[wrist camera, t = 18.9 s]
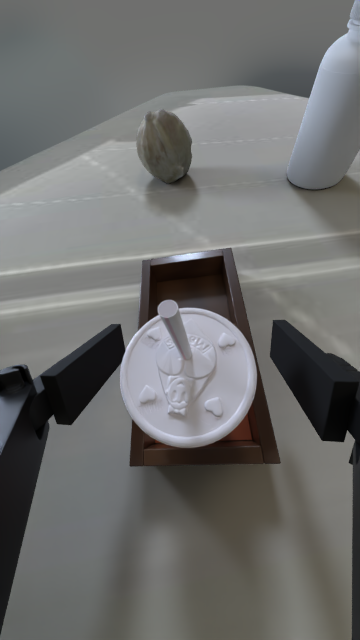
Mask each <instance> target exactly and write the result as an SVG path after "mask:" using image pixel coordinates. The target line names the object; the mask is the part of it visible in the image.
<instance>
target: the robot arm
mask: <svg viewBox="0 0 360 640" xmlns="http://www.w3.org/2000/svg"><path fill="white" fill-rule="evenodd" d="M124 354H125V346H124V341H123V335H122V330H121V324H111V325H110V326H108V327H107V328H105V329H104V330H103V331H101V332H100V333H98V334H97V335H96V336H94V337H93V338H91V339H90V340H89V341H87V342H86V343H85V344H83V345H82V346H80V347H79V348H78V349H76V350H75V351H73V352H72V353H71V354H69V355H68V356H66V357H65V358H63V359H62V360H60V361H59V362H57V363H56V364H55V365H53V366H52V367H51V368H49V369H48V370H46V371H45V372H43V373H42V374H41V375H39V376H38V377H36V378H35V379H34V380H32V377H31V375H30V372H29V369H28V367H27V366H26V365H15V366H11V367H7V368H5V369H2V370H0V634H1V630H2V626H3V622H4V617H5V613H6V609H7V605H8V601H9V596H10V592H11V588H12V584H13V579H14V575H15V571H16V567H17V563H18V558H19V554H20V550H21V546H22V542H23V537H24V533H25V529H26V525H27V521H28V516H29V512H30V508H31V504H32V499H33V495H34V491H35V487H36V483H37V478H38V474H39V470H40V466H41V462H42V457H43V453H44V449H45V445H46V441H47V436H48V432H49V423H48V420H49V418H50V417H51V416H52V415H53V414H54V417H55V420H56V423H57V424H62V425H72V423H73V422H74V421H75V420H76V418H77V417H78V416H79V415H80V413H81V412H82V411H83V410H84V408H85V407H86V406H87V405H88V403H89V402H90V401H91V400H92V398H93V397H94V396H95V395H96V393H97V392H98V391H99V390H100V388H101V387H102V386H103V385H104V383H105V382H106V381H107V380H108V379H109V377H110V376H111V375H112V374H113V372H114V371H115V370H116V369H117V367H118V366H119V365H120V364H121V362H122V360H123V357H124ZM270 357H271V359H272V360H273V362H274V364H275V365H276V367H277V369H278V370H279V372H280V373H281V375H282V377H283V378H284V380H285V381H286V383H287V385H288V386H289V388H290V390H291V391H292V393H293V394H294V396H295V398H296V399H297V401H298V402H299V404H300V406H301V407H302V409H303V411H304V412H305V414H306V415H307V417H308V419H309V420H310V422H311V424H312V425H313V427H314V428H315V430H316V432H317V433H318V435H319V436H320V438H321V440H322V441H335V442H344V440H345V436H346V432H347V430H348V431H349V433H350V434H351V435H352V436H353V438H354V439H355V442H354V446H353V450H352V453H351V457H350V460H349V463H350V464H352V465H353V536H352V640H360V372H359V371H357V369H355V368H354V367H353V366H351V365H350V364H349V363H347V362H346V361H345V360H344V359H342V358H340V357H338V356H336V355H333V354H331V353H324V352H323V351H322V350H321V349H320V348H318V347H317V346H316V345H315V344H314V343H312V342H311V341H310V340H309V339H308V338H306V337H305V336H304V335H303V334H302V333H300V332H299V331H298V330H297V329H296V328H294V327H293V326H292V325H291V324H290V323H288V322H287V321H286V320H273V327H272V339H271V351H270Z"/></svg>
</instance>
